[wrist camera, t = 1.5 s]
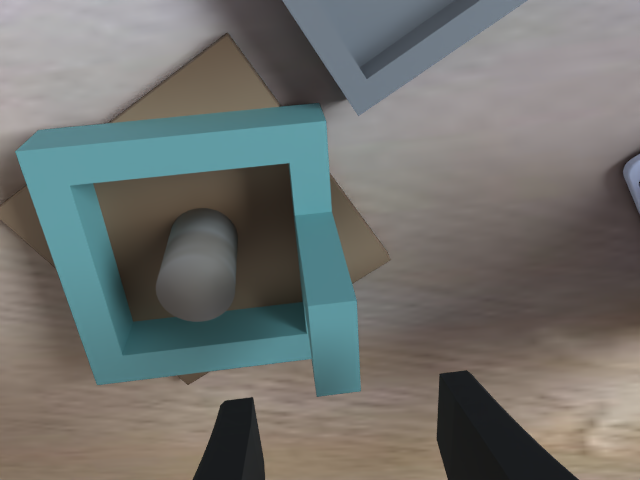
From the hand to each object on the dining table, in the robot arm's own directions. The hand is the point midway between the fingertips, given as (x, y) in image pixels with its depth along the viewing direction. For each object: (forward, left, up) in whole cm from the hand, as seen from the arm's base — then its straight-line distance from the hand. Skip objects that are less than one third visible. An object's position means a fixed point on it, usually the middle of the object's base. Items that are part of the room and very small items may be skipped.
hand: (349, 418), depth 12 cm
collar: (+2, +3, -9) cm, 10 cm away
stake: (+2, +3, -10) cm, 11 cm away
